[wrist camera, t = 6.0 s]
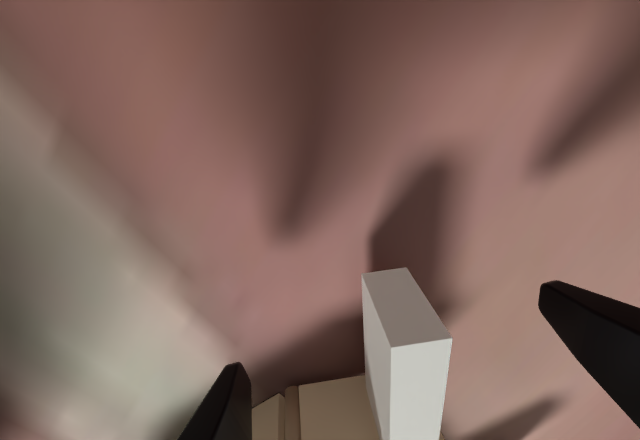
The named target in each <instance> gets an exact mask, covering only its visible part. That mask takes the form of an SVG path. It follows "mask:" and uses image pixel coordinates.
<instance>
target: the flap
mask: <svg viewBox="0 0 640 440" xmlns="http://www.w3.org/2000/svg"><path fill="white" fill-rule="evenodd" d="M361 275H362V301H363V326H364V352H365V375H361V376H355V377H349V378H343V379H336V380H330V381H324V382H318V383H312V384H306V385H299V387H297V386H290V387H288V388H286V390H285V440H445V439H444V437H443V435H442V433H441V431H440V427H441V420H442V413H443V405H444V398H445V390H446V383H447V376H448V368H449V361H450V353H451V346H452V339H453V338H452V336H451V335H450V333H449V332H448V330H447V329H446V327H445V326H444V324H443V323H442V321H441V320H440V318H439V316H438V315H437V313H436V312H435V310H434V309H433V307H432V306H431V304H430V303H429V301H428V300H427V298H426V297H425V295H424V293H423V292H422V290H421V289H420V287H419V286H418V284H417V283H416V281H415V280H414V278H413V277H412V275H411V274H410V272H409V271H408V269H407V267H404V268H397V269H390V270H383V271H376V272H369V273H362V274H361Z"/></svg>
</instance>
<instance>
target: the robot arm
mask: <svg viewBox="0 0 640 440" xmlns="http://www.w3.org/2000/svg"><path fill="white" fill-rule="evenodd" d="M538 306H539V309H540V311H541V313H542V315H543V316H544V317H545V319H546V320H547V321H548V322H549V324H550V325H551V326H552V328H553V329H554V330H555V332H556V333H557V334H558V336H559V337H560V338H561V339H562V341H563V342H564V343H565V345H566V346H567V347H568V349H569V350H570V351H571V353H572V354H573V355H574V356H575V358H576V359H577V360H578V361H579V362H580V364H581V365H582V366H583V367H584V368H585V369H586V370H587V371H588V373H589V374H590V375H591V376H592V377H593V378H594V379H595V380H596V381H597V382H598V384H599V385H600V386H601V387H602V388H603V389H604V390H605V391H606V392H607V393H608V394H609V396H610V397H611V398H612V399H613V400H614V401H615V402H616V403H617V404H618V405H619V407H620V408H621V409H622V410H623V411H624V412H625V413H626V414H627V415H628V416H629V417H630V419H631V420H632V421H633V422H634V423H635V424H636V425H637V426H638V427H639V428H640V308H638V307H635V306H632V305H629V304H626V303H623V302H621V301H618V300H615V299H612V298H609V297H606V296H603V295H600V294H597V293H594V292H591V291H588V290H585V289H582V288H579V287H576V286H573V285H570V284H567V283H564V282H561V281H557V280H555V281H550V282H546V283H543V284H542V285H541V286H540V293H539V302H538ZM177 440H252V398H251V382H250V379H249V377H248V375H247V373H246V371H245V369H244V367H243V365H242V364H241V363H240V362H236V363H232V364H228V365H226V366H225V367H224V369H223V370H222V372H221V373H220V375H219V376H218V378H217V380H216V381H215V383H214V384H213V386H212V387H211V389H210V390H209V392H208V393H207V395H206V396H205V398H204V399H203V401H202V402H201V404H200V405H199V407H198V409H197V410H196V412H195V413H194V415H193V416H192V418H191V419H190V421H189V422H188V424H187V425H186V427H185V428H184V430H183V431H182V433H181V435H180V436H179V438H178V439H177Z"/></svg>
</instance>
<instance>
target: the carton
mask: <svg viewBox="0 0 640 440" xmlns="http://www.w3.org/2000/svg"><path fill="white" fill-rule="evenodd" d="M252 440H285V398H284V397H283V396H282V395H281V394H279V393H278V394H276V395H275V396H273V397H271V398H270V399H268V400H266V401H265V402H263V403H261V404H259V405H258V406H256V407H254V408H253V409H252Z"/></svg>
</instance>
